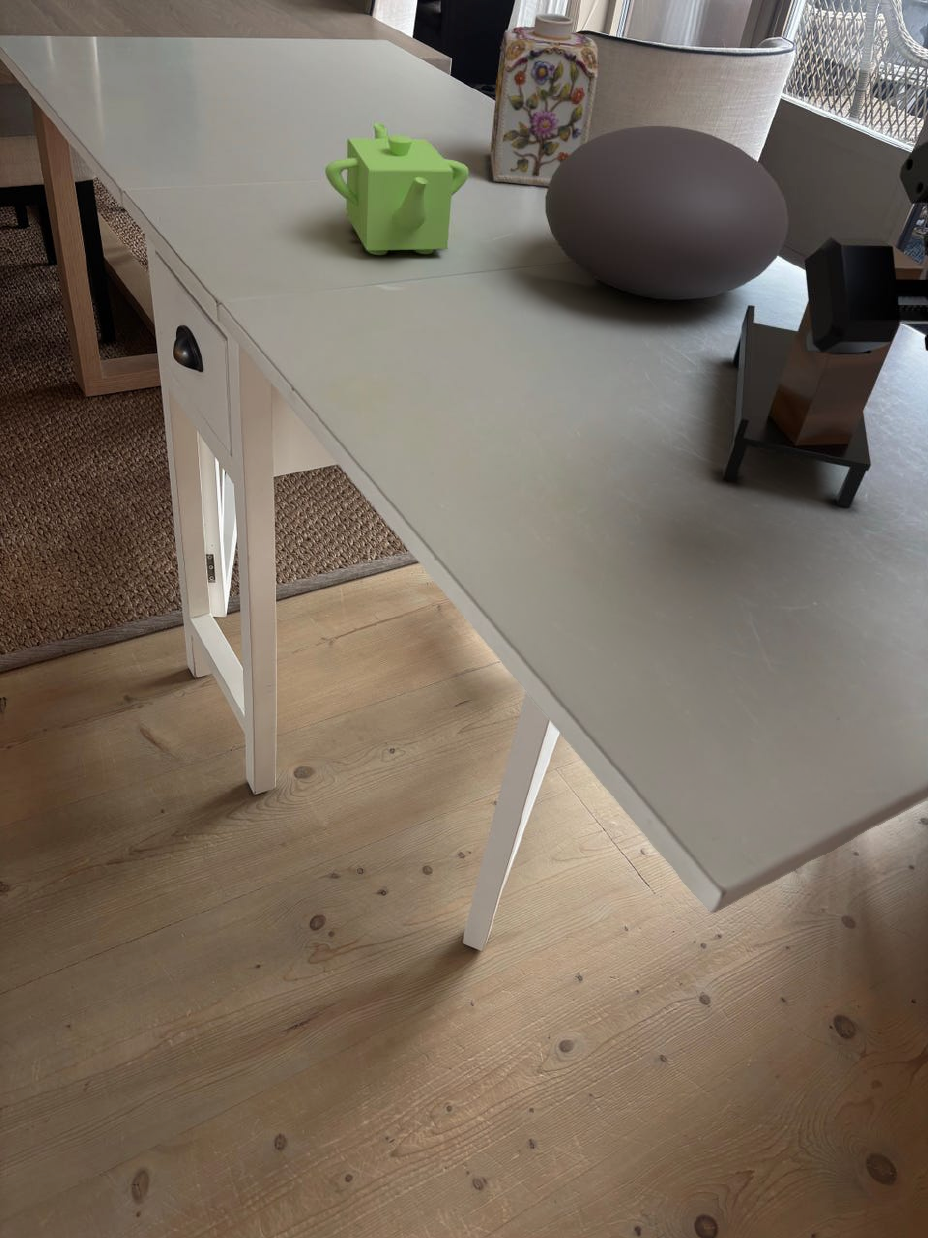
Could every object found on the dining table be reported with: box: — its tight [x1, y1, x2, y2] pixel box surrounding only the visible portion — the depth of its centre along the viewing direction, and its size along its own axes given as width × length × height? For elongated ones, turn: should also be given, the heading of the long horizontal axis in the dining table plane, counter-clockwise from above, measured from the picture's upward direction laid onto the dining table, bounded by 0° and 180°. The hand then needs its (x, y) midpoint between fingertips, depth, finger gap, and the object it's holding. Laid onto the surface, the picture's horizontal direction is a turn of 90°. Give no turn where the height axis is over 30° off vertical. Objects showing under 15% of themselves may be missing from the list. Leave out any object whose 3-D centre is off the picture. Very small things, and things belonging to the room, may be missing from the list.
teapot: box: [324, 122, 469, 256], centre depth 100 cm, size 15×13×11 cm
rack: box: [722, 304, 872, 508], centre depth 79 cm, size 10×22×6 cm, turn 166°
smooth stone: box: [544, 125, 789, 301], centre depth 97 cm, size 25×25×15 cm
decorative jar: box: [490, 13, 599, 188], centre depth 121 cm, size 12×12×18 cm
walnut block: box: [769, 241, 925, 446], centre depth 68 cm, size 5×5×14 cm
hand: (869, 343), depth 65 cm, fingers open, 9 cm apart
